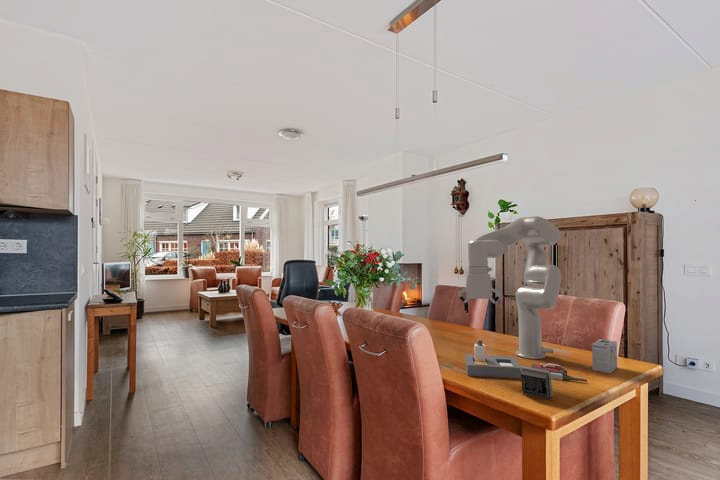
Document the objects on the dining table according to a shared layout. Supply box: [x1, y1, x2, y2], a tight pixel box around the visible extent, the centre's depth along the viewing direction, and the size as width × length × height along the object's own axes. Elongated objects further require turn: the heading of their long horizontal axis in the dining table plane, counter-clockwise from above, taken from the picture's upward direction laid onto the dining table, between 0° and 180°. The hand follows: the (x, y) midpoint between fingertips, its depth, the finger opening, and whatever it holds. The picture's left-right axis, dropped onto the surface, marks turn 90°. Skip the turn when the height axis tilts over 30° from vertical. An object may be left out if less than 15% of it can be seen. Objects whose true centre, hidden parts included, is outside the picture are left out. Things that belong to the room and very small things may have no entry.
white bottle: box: [473, 339, 487, 362], centre depth 153 cm, size 4×4×12 cm
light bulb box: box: [591, 338, 618, 374], centre depth 153 cm, size 11×7×11 cm, turn 134°
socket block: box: [464, 353, 522, 380], centre depth 151 cm, size 20×16×4 cm
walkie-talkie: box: [530, 362, 588, 383], centre depth 144 cm, size 9×4×20 cm
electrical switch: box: [520, 365, 554, 400], centre depth 125 cm, size 9×5×9 cm, turn 51°
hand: (479, 312), depth 153 cm, fingers open, 9 cm apart
